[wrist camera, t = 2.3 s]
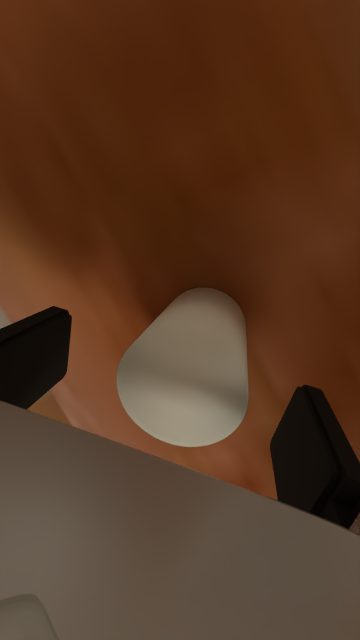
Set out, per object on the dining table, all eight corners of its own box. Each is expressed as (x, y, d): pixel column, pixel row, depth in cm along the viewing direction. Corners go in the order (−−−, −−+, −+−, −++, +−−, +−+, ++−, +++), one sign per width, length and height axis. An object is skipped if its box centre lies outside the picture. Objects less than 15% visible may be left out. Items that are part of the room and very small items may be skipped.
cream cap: (257, 301, 15) (269, 356, 9) (231, 374, 17) (224, 464, 10) (174, 277, 16) (127, 311, 9) (157, 350, 18) (108, 421, 11)
